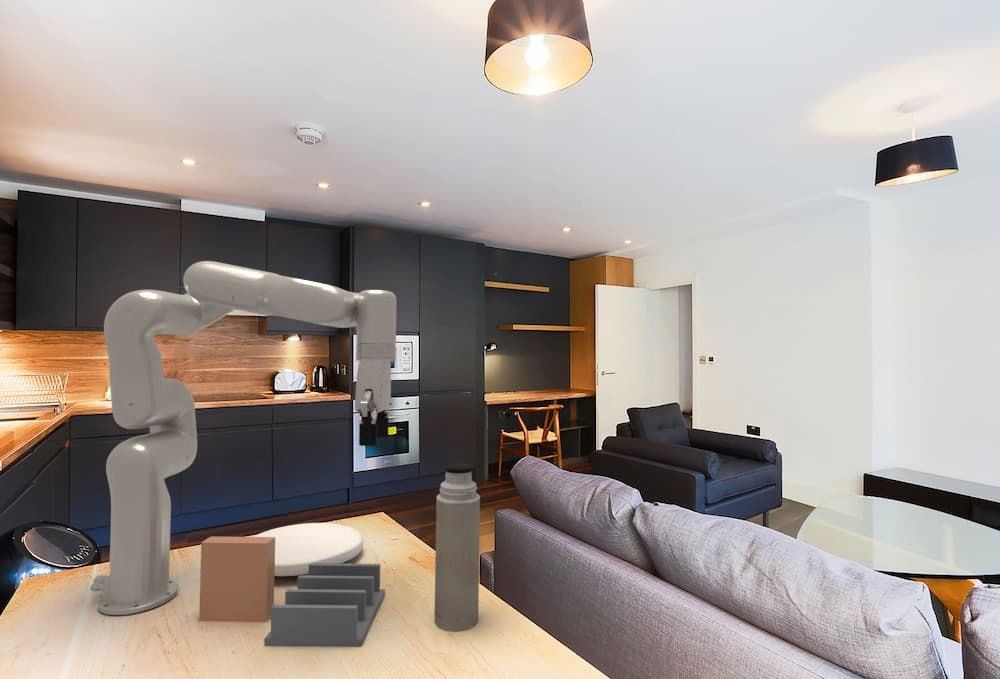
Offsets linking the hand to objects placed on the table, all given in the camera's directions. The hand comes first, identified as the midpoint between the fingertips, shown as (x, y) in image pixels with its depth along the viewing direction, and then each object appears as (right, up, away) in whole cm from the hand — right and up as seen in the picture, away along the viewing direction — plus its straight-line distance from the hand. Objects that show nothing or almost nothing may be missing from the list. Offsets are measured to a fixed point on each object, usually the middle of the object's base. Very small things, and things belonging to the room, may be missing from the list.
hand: (374, 440), depth 99 cm
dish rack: (-6, -31, -7) cm, 32 cm away
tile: (-23, -31, -7) cm, 39 cm away
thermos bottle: (+17, -32, -7) cm, 36 cm away
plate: (-21, -32, +19) cm, 43 cm away
